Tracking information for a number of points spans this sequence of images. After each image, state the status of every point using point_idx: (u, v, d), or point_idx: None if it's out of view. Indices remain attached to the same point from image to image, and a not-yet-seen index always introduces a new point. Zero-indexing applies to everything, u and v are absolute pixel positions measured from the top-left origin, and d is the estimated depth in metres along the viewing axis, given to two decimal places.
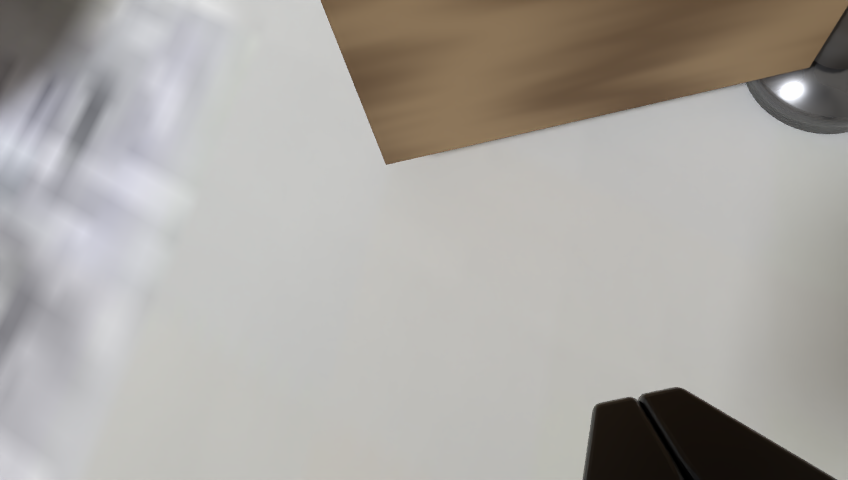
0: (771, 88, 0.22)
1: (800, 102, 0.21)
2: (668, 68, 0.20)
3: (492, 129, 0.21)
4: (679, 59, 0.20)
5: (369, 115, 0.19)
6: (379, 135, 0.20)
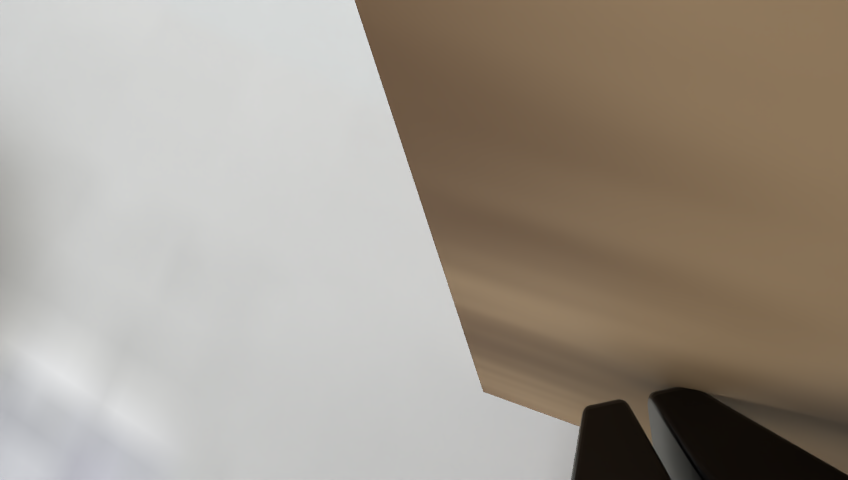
0: None
1: None
2: None
3: None
4: None
5: (478, 361, 0.10)
6: (486, 377, 0.11)
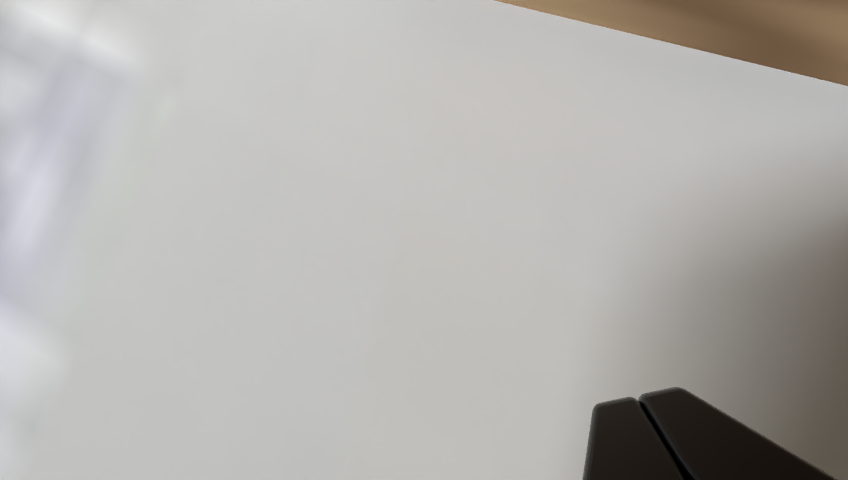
0: None
1: None
2: (826, 13, 0.12)
3: None
4: None
5: None
6: None
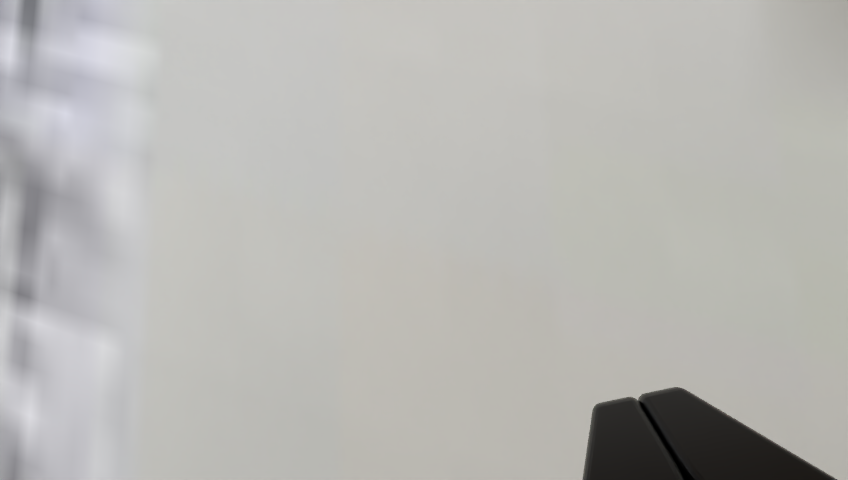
0: None
1: None
2: None
3: None
4: None
5: None
6: None
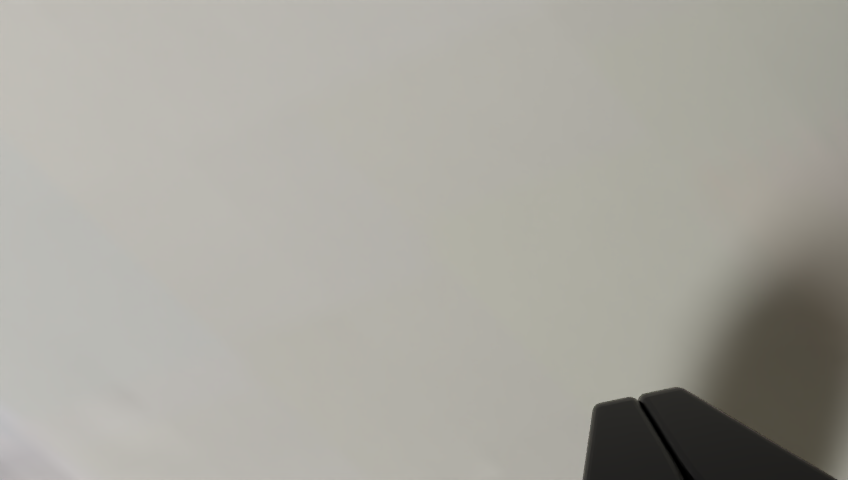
0: None
1: None
2: None
3: None
4: None
5: None
6: None
